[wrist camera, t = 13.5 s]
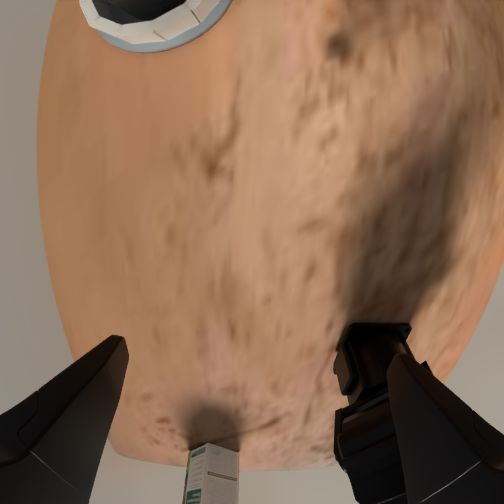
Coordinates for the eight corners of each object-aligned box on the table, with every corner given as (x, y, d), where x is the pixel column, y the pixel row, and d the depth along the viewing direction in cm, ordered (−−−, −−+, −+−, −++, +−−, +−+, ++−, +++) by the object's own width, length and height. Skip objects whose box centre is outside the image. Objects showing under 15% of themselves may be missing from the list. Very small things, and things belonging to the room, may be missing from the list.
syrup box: (207, 441, 35) (197, 531, 22) (241, 452, 37) (237, 537, 24) (188, 451, 37) (176, 531, 24) (220, 461, 39) (214, 538, 26)
